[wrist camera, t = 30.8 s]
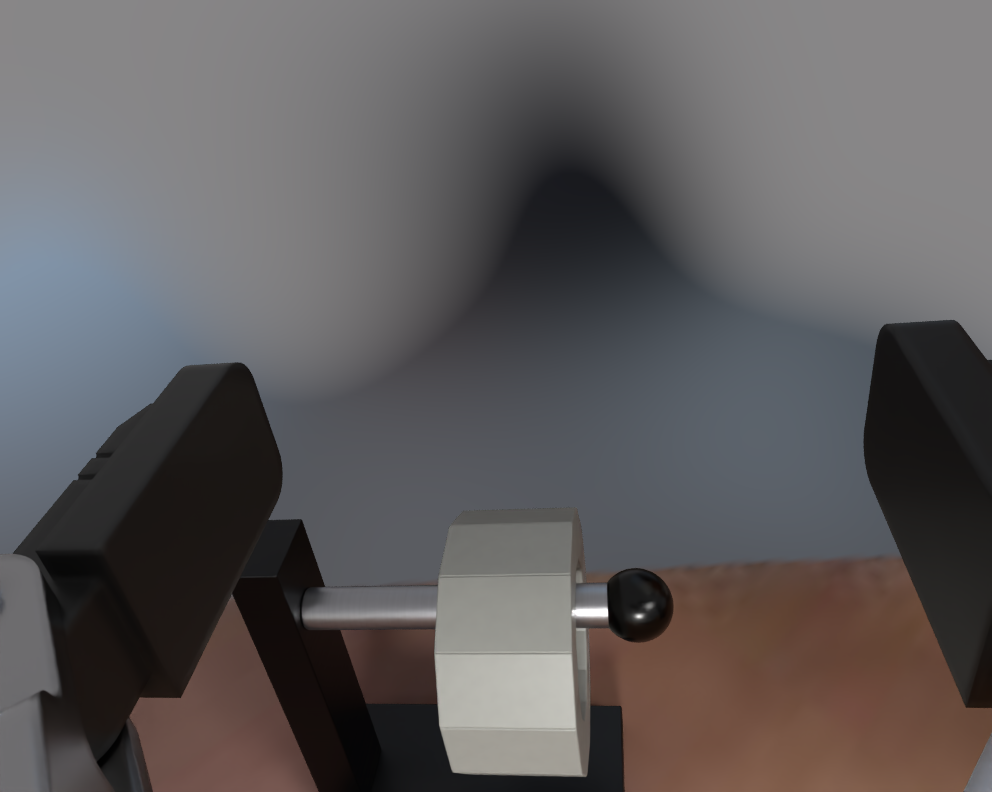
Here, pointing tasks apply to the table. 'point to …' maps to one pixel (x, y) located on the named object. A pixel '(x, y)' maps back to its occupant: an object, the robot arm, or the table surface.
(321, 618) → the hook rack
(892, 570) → the table surface
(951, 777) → the table surface
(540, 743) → the tape roll
